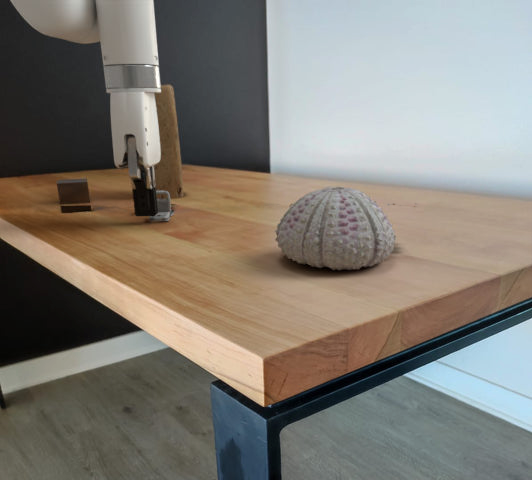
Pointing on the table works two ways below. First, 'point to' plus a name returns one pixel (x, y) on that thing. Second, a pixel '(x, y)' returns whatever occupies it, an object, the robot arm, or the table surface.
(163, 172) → the block
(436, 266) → the table surface
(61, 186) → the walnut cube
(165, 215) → the strap clip
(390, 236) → the sea urchin shell
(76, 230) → the table surface
